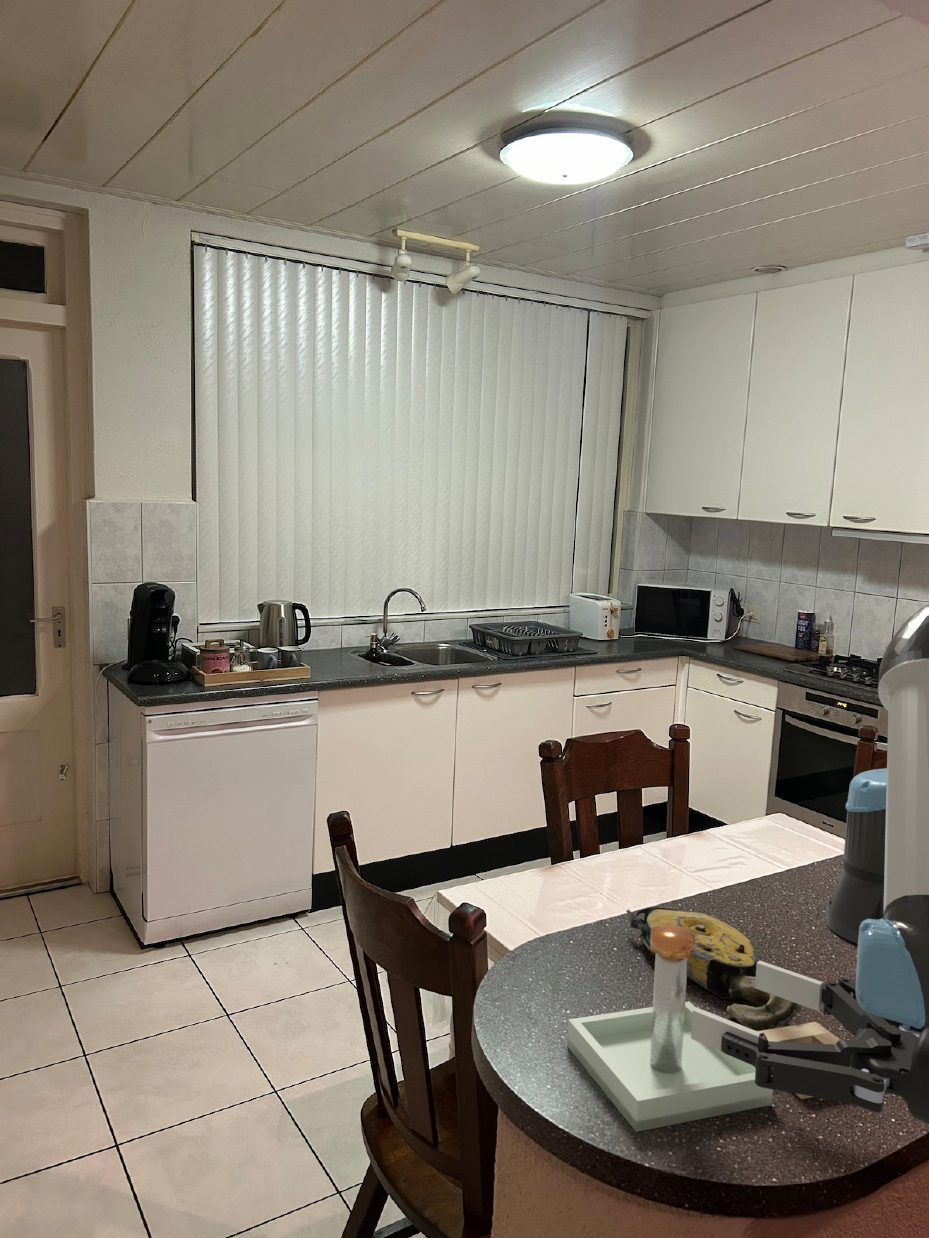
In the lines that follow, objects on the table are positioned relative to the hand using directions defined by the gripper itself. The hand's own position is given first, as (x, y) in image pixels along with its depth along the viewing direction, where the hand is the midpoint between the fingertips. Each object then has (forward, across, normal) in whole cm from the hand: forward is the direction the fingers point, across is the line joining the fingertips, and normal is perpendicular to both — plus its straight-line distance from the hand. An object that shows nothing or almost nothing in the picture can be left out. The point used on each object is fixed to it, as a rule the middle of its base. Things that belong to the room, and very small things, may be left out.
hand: (726, 996), depth 90 cm
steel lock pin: (+6, 0, -10) cm, 12 cm away
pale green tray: (+6, 0, -11) cm, 12 cm away
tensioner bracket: (-4, +12, -11) cm, 17 cm away
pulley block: (+12, +24, -11) cm, 29 cm away
